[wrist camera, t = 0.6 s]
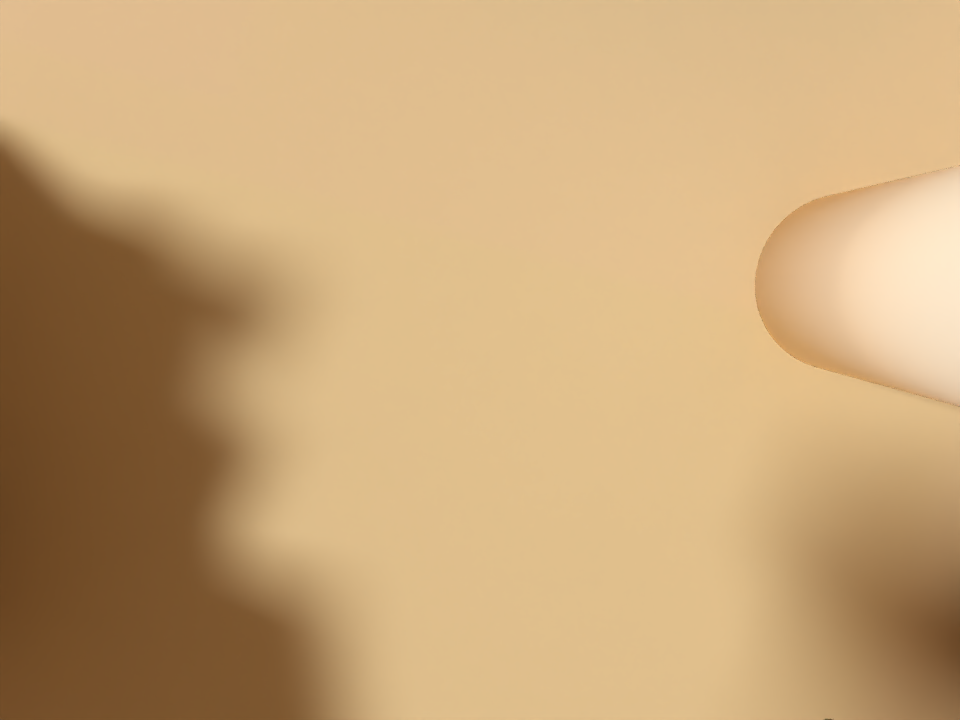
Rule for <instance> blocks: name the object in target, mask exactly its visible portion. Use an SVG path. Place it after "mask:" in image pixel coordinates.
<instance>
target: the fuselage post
mask: <svg viewBox="0 0 960 720" xmlns="http://www.w3.org/2000/svg"><path fill="white" fill-rule="evenodd" d="M755 296H756V302H757V307H758V310H759V314H760V317H761V319H762V321H763V323H764V326H765V327H766V329H767V331H768V332H769V334H770V335H771V337H772V338H773V339H774V340H775V342H776V343H777V344H778V345H779V346H780V347H781V348H782V349H783V350H785V351H786V352H787V353H788V354H790V355H791V356H793V357H794V358H796V359H798V360H800V361H802V362H804V363H806V364H808V365H811V366H814V367H817V368H821V369H825V370H828V371H832V372H836V373H839V374H843V375H847V376H850V377H854V378H857V379H861V380H865V381H868V382H872V383H876V384H879V385H883V386H887V387H890V388H894V389H898V390H901V391H905V392H909V393H912V394H916V395H920V396H923V397H927V398H931V399H934V400H938V401H941V402H945V403H949V404H952V405H956V406H960V165H959V166H955V167H950V168H946V169H942V170H937V171H933V172H929V173H924V174H920V175H916V176H911V177H907V178H903V179H898V180H894V181H890V182H885V183H881V184H877V185H872V186H868V187H864V188H859V189H855V190H851V191H846V192H842V193H838V194H833V195H829V196H825V197H822V198H819V199H816V200H813V201H811V202H809V203H807V204H805V205H802V206H801V207H799V208H798V209H796V210H795V211H793V212H792V213H791V214H790V215H788V216H787V217H786V218H785V219H784V220H783V221H782V222H781V223H780V224H779V225H778V226H777V227H776V228H775V230H774V231H773V233H772V234H771V235H770V237H769V238H768V240H767V242H766V244H765V246H764V248H763V250H762V253H761V255H760V258H759V261H758V265H757V269H756V277H755Z"/></svg>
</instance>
